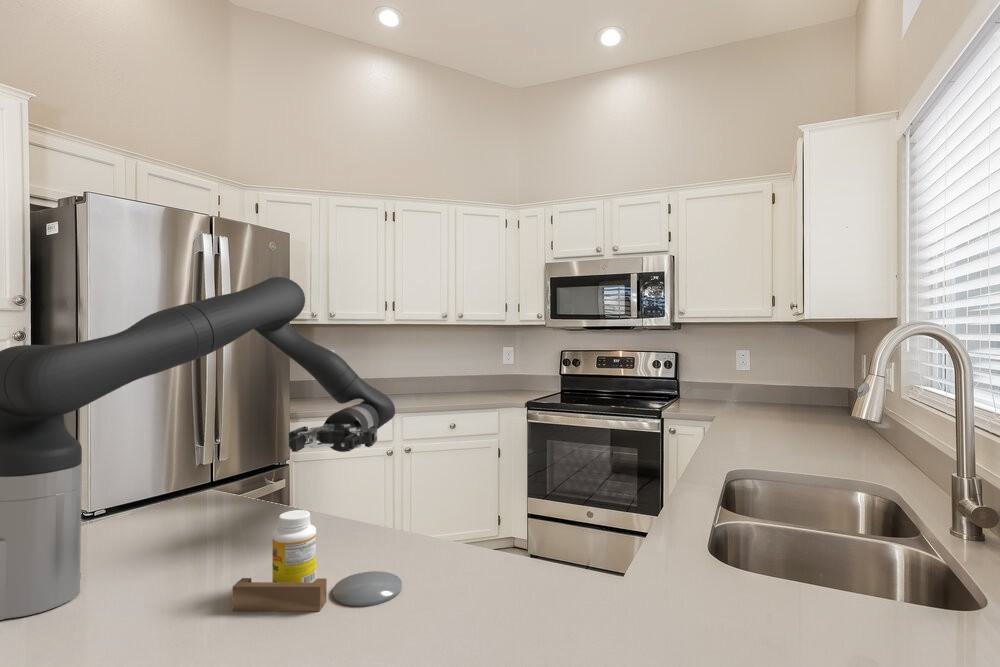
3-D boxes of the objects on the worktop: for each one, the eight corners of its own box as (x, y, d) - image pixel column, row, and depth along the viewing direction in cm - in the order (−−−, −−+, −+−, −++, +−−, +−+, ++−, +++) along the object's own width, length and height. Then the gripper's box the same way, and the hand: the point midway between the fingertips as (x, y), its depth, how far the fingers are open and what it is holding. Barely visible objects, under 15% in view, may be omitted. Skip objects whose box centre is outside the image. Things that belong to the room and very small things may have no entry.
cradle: (242, 601, 69) (242, 578, 69) (326, 601, 69) (326, 578, 69) (232, 610, 66) (232, 586, 67) (319, 611, 66) (320, 586, 66)
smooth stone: (362, 613, 66) (362, 608, 66) (319, 593, 71) (319, 588, 71) (415, 586, 73) (415, 582, 73) (372, 570, 78) (372, 566, 78)
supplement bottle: (274, 583, 74) (275, 509, 74) (316, 578, 76) (317, 506, 76) (269, 602, 69) (270, 522, 69) (315, 596, 70) (315, 518, 70)
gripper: (312, 408, 102) (275, 422, 86) (386, 407, 102) (364, 421, 86) (312, 447, 102) (276, 468, 86) (386, 446, 102) (364, 468, 86)
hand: (320, 445), depth 86 cm, fingers open, 8 cm apart
